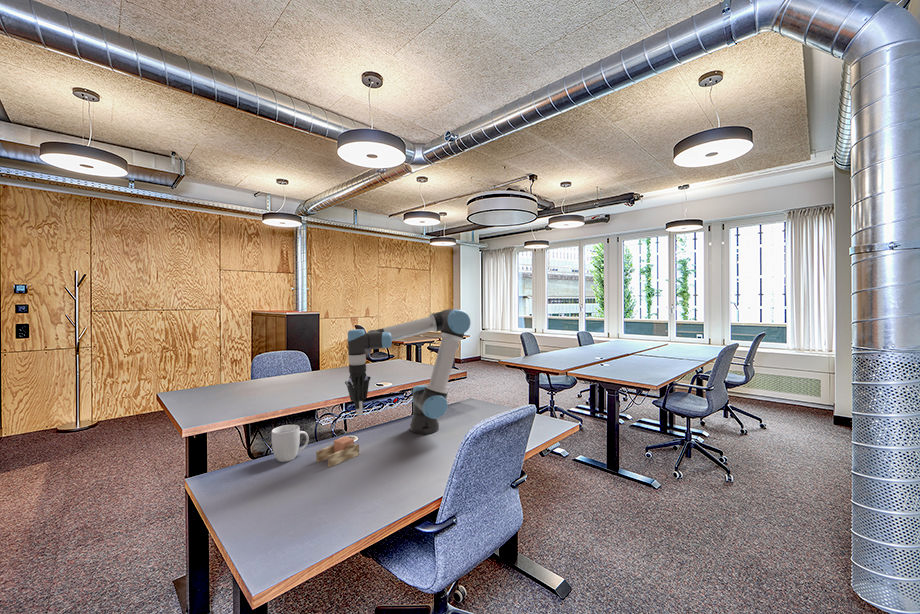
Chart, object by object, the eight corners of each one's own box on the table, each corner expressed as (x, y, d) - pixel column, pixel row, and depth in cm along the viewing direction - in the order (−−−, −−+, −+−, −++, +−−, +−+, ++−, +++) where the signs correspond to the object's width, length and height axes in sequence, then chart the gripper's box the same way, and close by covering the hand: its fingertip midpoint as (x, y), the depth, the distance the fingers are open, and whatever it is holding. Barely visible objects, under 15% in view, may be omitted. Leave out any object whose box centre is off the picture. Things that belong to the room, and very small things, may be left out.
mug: (305, 449, 171) (304, 420, 171) (312, 456, 163) (312, 427, 162) (269, 458, 162) (268, 428, 161) (275, 466, 153) (274, 435, 153)
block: (345, 451, 167) (345, 436, 167) (354, 454, 164) (353, 439, 164) (334, 456, 162) (333, 440, 162) (342, 459, 159) (342, 443, 159)
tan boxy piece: (345, 449, 170) (345, 437, 170) (360, 454, 164) (359, 442, 164) (315, 461, 158) (315, 448, 158) (330, 467, 152) (330, 453, 151)
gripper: (363, 360, 176) (365, 410, 177) (340, 365, 166) (342, 418, 166) (374, 361, 172) (376, 412, 173) (351, 366, 161) (353, 420, 162)
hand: (359, 415), depth 169 cm, fingers closed
